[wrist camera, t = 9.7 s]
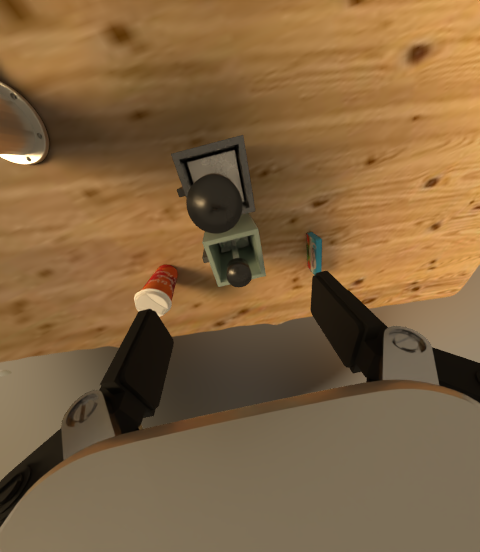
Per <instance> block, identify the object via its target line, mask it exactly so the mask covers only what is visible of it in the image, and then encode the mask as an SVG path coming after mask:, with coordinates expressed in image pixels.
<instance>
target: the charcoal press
mask: <svg viewBox="0 0 480 552" xmlns="http://www.w3.org/2000/svg"><path fill="white" fill-rule="evenodd" d="M233 150H235V156H236V161H237V166H238V171H239V177H240V182H241V187H242V193H243V198H244V202H242V214H246V213H250V212H254V211H255V206H254V199H253V193H252V187H251V181H250V175H249V168H248V162H247V156H246V150H245V143H244V137H243V135H241V136H237V137H233V138H230V139H226V140H222V141H218V142H215V143H211V144H207V145H203V146H199V147H196V148H192V149H188V150H184V151H180V152H177V153H173V154H171V156H172V158H173V161H174V164H175V167H176V170H177V172H178V175H179V178H180V181H181V184H182V187H180V188H179V189H177V192H178V195H179V197H183V196H186V198H187V195H188V192H189V190H190V188H191V186H192V185H193V184H194V183H193V180H192V176H191V173H190V170H189V167H188V164H187V162H191V161H195V160H198V159H202V158H206V157H210V156H214V155H218V154H221V153H225V152H229V151H233ZM242 214H241V215H242Z"/></svg>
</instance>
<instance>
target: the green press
mask: <svg viewBox="0 0 480 552" xmlns="http://www.w3.org/2000/svg"><path fill="white" fill-rule="evenodd" d="M245 236H247V237H248V242H249V246H247V247H243V248H239V249H237V250H238V254H239V258H243V259H245V260H246V261H247V262H248V264H249V267H250V270H251V274H252V279H255V278H259V277H263V276H266V274H265V268H264V261H263V255H262V249H261V243H260V237H259V230H258V228H257V226H256V224H255V223H254V221H253V219H252V218H251V216H250V215H249V213H246V214H242V215H241V217H240V219H239V221H238V222H237V224H236V225H235V226H234V227H233V228H232V229H230V230H228V231H226V232H224V233H218V234H214V233H209V232H206V231H205V233H204V238H203V242H202V243H203V245H204V252H203V257H202V258H203V261H204V263H207V262H210V265H211V268H212V271H213V273H214V276H215V279H216V282H217V285H218V287H221V286H225V285H229V284H230V283H229V282H228V280H227V264H228V262H229V261H230V260H232V259H233V254H232V250H230V251H226V252H221V249H220V245H219V243H221V242H225V241H229V240H233V239H237V238H241V237H245Z"/></svg>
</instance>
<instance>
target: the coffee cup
mask: <svg viewBox="0 0 480 552" xmlns="http://www.w3.org/2000/svg"><path fill="white" fill-rule="evenodd" d="M177 276H178V273H177V270H176V269H175V268H174V267H173V266H171V265H162V266H160V267H159V268H158V269H157V270H156V272H155V273H154V274H153V275H152V277H151V278H150V279H149V281H148V282H147V283H146V285H145V286H144V287H143V289H142V290H141V291H139V292H137V293H136V294H135V297H134V300H135V306H136V308H137V310H138V311H141V310H146V309H152V310H154V311H156V313H157V314H158V316H159V317H160V316H162V315H164V314H165V313H166V312H168V311H169V310H170V308H171V304H172V303H171V300H172V297H173V292H174V288H175V284H176V280H177Z"/></svg>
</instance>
